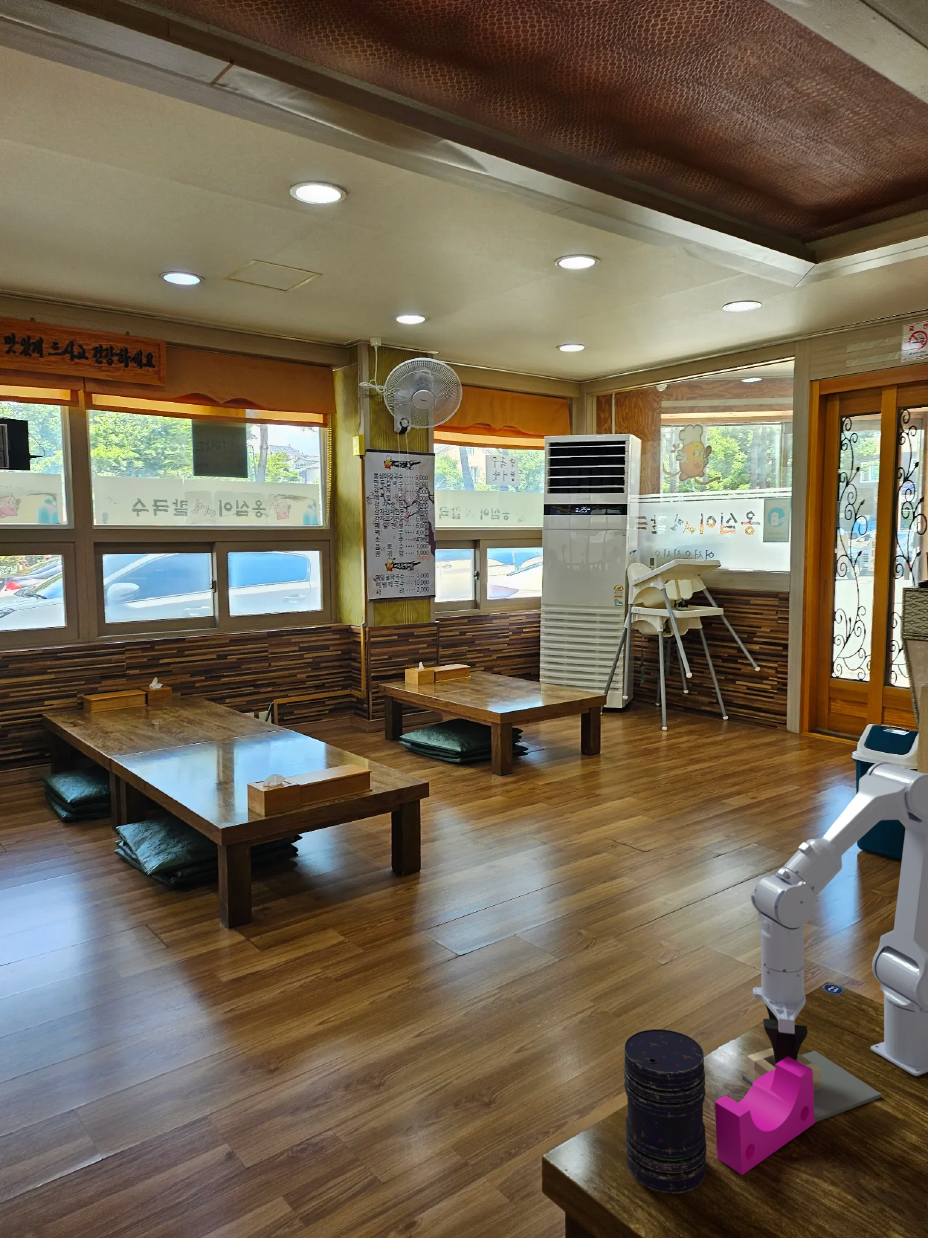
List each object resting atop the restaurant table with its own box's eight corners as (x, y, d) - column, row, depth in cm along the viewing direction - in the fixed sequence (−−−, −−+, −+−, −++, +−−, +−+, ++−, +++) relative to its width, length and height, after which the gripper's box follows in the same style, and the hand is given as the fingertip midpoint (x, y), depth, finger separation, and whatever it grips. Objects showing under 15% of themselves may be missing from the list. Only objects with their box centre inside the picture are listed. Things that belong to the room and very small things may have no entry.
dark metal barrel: (650, 1129, 114) (647, 1020, 113) (720, 1161, 108) (718, 1045, 107) (611, 1170, 107) (608, 1054, 106) (684, 1207, 100) (681, 1083, 99)
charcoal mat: (814, 1054, 130) (814, 1050, 130) (881, 1097, 119) (881, 1094, 119) (742, 1078, 125) (742, 1075, 125) (805, 1126, 114) (805, 1122, 114)
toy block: (773, 1100, 119) (771, 1048, 118) (814, 1123, 114) (812, 1069, 113) (701, 1148, 110) (698, 1092, 110) (741, 1175, 105) (739, 1117, 105)
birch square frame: (784, 1063, 127) (784, 1044, 127) (821, 1089, 121) (820, 1068, 121) (747, 1076, 125) (747, 1056, 124) (783, 1102, 118) (782, 1081, 118)
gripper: (750, 939, 130) (751, 1026, 131) (754, 984, 116) (755, 1081, 117) (800, 943, 128) (801, 1032, 129) (810, 990, 114) (811, 1089, 115)
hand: (783, 1056), depth 122 cm, fingers open, 7 cm apart
